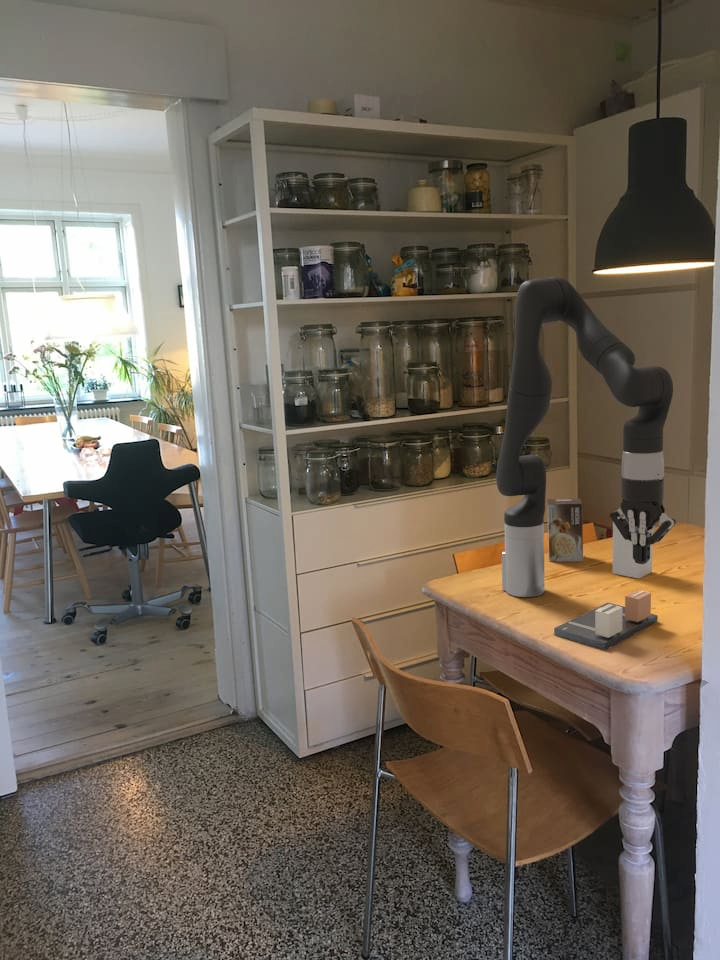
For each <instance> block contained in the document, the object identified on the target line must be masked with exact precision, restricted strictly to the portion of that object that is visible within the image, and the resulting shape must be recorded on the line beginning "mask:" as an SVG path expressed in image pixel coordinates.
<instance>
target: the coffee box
mask: <svg viewBox="0 0 720 960" xmlns="http://www.w3.org/2000/svg"><path fill="white" fill-rule="evenodd" d="M546 500H547V534H548V535H547V540H548V541H547V542H548V543H547V544H548V561H549V562H574V563H575V562H576V563H577V562H580V563H581V562H582V563H583V562H584V538H583V537H584V532H583V531H584V529H583V526H584V525H583V502H582V500H581V498H551V499H550V498H547V499H546Z"/></svg>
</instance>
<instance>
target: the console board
mask: <svg viewBox="0 0 720 960" xmlns="http://www.w3.org/2000/svg"><path fill="white" fill-rule="evenodd" d="M608 604H612V605H616V606H620V607H622V631H620V632H619V633H617V634H615V635H613V636H611V637H609V638H607V637H604V636H601V635H597V634H595V610H597V609H600V608H602V607H604V606H606V605H608ZM658 620H659V619H658V615H657V614H654V613H651V616H649V617H647V618H645V619H643V620H641V621H639V622H635V621H632V620H628V619H625V605H624V606H623V605H620V604H615V603H612V602H605V603H604V604H601V605H599V606H597V607H595V608H593V609H591V610H588V611H587V612H585V613H583V614H580V615H579V616H577V617H574V618H572V619H570V620H568V621H566V622H564V623H561V624H560V625H558V626H556V627H554V629H553V630H554V632H553V635H554V636H557V637H560V638H563V639H566V640H570V641H573V642H576V643H579V644H583V645H586V646H589V647H592V648H596V649H598V650H602V651H606V650H608V649H611V648H613V647H614V646H616V645H618V644H620V643H621V642H623V641H626V640H627V639H629V638H630V637H633V636H634V635H636V634H638V633H640V632H641V631H643V630H645V629H647V628H649V627H651V626H653V625H655V624H656V623H658Z"/></svg>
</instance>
